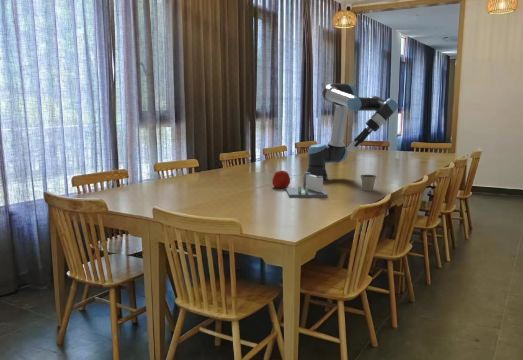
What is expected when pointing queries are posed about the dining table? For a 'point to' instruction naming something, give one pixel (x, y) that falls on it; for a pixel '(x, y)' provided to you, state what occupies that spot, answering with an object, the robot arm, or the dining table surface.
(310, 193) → the dial plate
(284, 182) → the apple
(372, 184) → the flower pot
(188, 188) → the dining table surface
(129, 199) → the dining table surface
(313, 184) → the white slab
